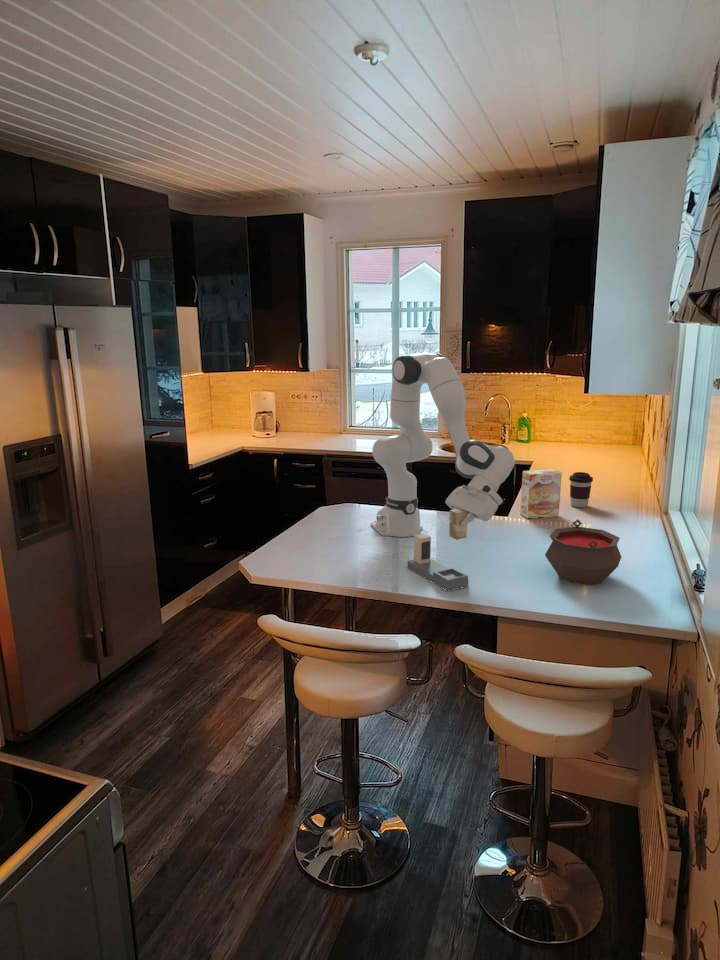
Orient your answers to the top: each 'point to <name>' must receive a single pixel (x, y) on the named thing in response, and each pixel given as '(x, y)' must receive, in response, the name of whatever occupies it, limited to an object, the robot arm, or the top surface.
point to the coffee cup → (580, 489)
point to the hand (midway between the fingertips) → (456, 523)
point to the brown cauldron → (583, 554)
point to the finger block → (457, 524)
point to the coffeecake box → (540, 493)
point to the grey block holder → (434, 566)
